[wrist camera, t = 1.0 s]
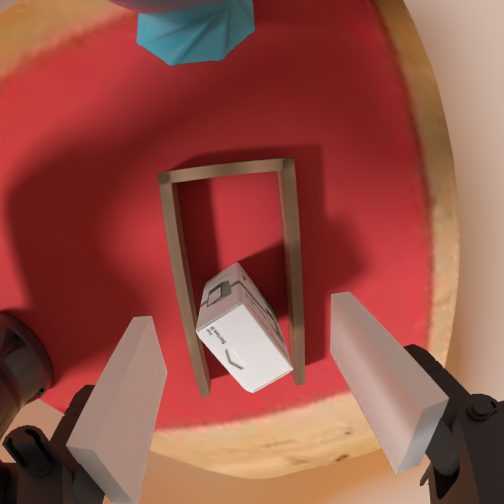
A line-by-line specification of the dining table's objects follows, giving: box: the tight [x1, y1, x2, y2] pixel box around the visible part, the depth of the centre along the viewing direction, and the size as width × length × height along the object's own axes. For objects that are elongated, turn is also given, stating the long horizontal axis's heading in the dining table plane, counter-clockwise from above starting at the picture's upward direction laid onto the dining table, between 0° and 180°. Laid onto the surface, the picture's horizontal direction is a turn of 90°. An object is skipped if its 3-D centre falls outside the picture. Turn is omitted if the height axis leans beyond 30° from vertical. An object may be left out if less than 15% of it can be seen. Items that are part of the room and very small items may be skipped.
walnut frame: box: [158, 158, 305, 397], centre depth 33 cm, size 13×27×4 cm, turn 6°
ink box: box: [196, 262, 293, 393], centre depth 30 cm, size 9×5×12 cm, turn 34°
